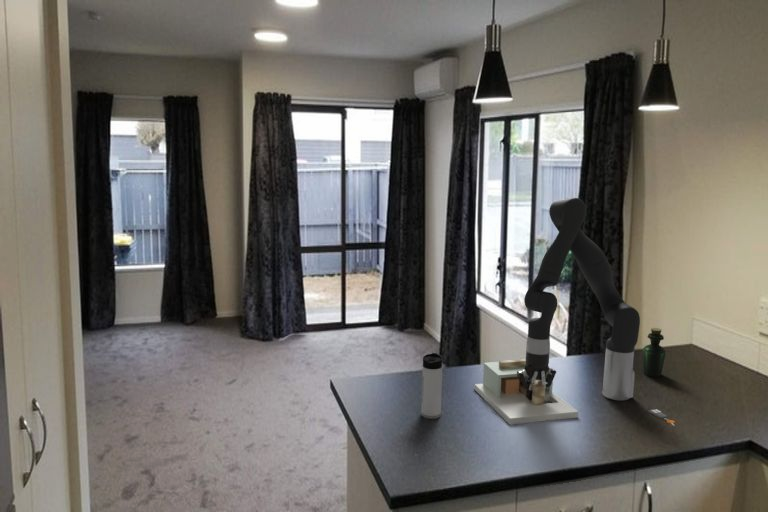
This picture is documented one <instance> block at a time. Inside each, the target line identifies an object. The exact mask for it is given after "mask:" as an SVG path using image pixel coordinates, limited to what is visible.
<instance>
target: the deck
mask: <svg viewBox="0 0 768 512" xmlns="http://www.w3.org/2000/svg"><path fill="white" fill-rule="evenodd" d="M524 368H525V367H519V368H506V369H501V368H500V367H499V361H490V362H484V363H483V375H482V376H483V377H482V378H483V379H482V383H474V389H473V390H474V391H476V393H477V394H479V395H480V397H482V399H484V401H485V402H486V403H488V405H489V406H490V407H491V408H492V409H494V410H495V411H496V412H497V414H499V416H501V418H503V419H504V421H506V422H507V424H508V425H517V424H526V423H528V424H529V423H536V422H538V423H539V422H546V421H547V420H548V421H557V420H564V419H575V418H579V411H578V409H576V408H575V407H573V406H572V405H570V403H568V402H566V401H565V400H564V399H562V398H561V397H560V396H558V395H557V394H556V393H555V392H553V385H554V383H553V381H554V380H553V381H552V384H551V386H550V387H546V388H545V397H544V402H546V403H544V404H534V403H533V402H531V401H530V400H528V398H527V397H526V395H525V394H524V393H523V392H522V391H520V390H519V393H512V394H505V393H504V392H503V391H501V378H506V377H518V375H517V371H522V370H524ZM547 374H548V372H547ZM547 374H546V375H545V379H546V377H547ZM527 376H528V375H527V374H525V377H524V378H525V381H526V383H527ZM537 380H538V379H537ZM547 402H549V403H547ZM551 402H552V403H551ZM556 419H557V420H556Z"/></svg>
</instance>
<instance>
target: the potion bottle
mask: <svg viewBox="0 0 768 512" xmlns="http://www.w3.org/2000/svg"><path fill="white" fill-rule="evenodd" d="M650 330H651V333H650V332H649V333H648V334H647V338H648V339H649V340H650V344H647V345H644V347H643V349H642V368H643V370H642V372H643V374H645V375H646V376H649V377H656V378H657V377H661V376H662V373H663V368H664V363H665V359H666V352H667V351H666V348H664V347H663V346H662V345H660V343H661V341H664V339H665V338H664V335H663V334H661V333H662V328H658V327H651V328H650Z"/></svg>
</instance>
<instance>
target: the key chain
mask: <svg viewBox="0 0 768 512" xmlns="http://www.w3.org/2000/svg"><path fill="white" fill-rule="evenodd" d="M648 413H649V414H651V415H652V416H655V417H656V418H658V419H660V420H666V422H667V423H668V424H671V425H672V426H674V427H675V424H674V423H675V421H674V420H673V419H672V420H671V419H669V417H668V415H667V414H665V413H663V412H662V411H661V410H659V409H657V408H656V409H649V410H648Z"/></svg>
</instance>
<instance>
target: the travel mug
mask: <svg viewBox="0 0 768 512" xmlns="http://www.w3.org/2000/svg"><path fill="white" fill-rule="evenodd" d="M421 372H422V373H421V376H422V378H421V379H422V381H421V416H422V417H423V418H425V419H430V420H436V419H439V418H440V417H441V416H442V414H441V413H442V412H441V410H442V390H443V389H442V387H443V386H442V383H443V357H442V356H441V355H440V354H438V352H432V353H428V354H425V355H424V356H423V357H422V371H421Z"/></svg>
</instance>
